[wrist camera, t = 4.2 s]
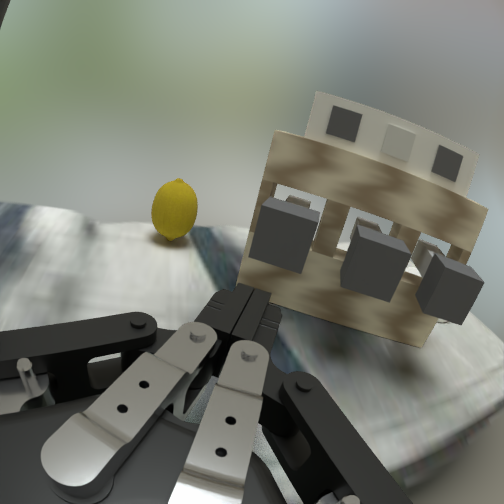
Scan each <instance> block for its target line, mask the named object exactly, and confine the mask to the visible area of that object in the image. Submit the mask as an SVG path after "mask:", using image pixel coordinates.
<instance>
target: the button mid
mask: <svg viewBox="0 0 504 504" xmlns="http://www.w3.org/2000/svg"><path fill="white" fill-rule="evenodd" d="M350 239H351V242H350V245H349V248H348V251H347V253H346V256H345V259H344V261H343V264H342V266H341V269H340V286H341V287H342V288H345V289H348V290H351V291H355V292H358V293H361V294H364V295H367V296H370V297H373V298H377V299H380V300H383V301H386V302H389V303H390V301H391V299H392V297H393V295H394V293H395V291H396V288H397V286H398V284H399V282H400V280H401V278H402V275H403V273H404V271H405V269H406V266H407V264H408V262H409V260H410V257H411V255H412V254H411V253H410V251H409V249H408V248H407V246H406V244H405V243H404V241H403V240H400V239H397V238H394V237H391V236H389V235H386V234H383V233H382V232H381V230H380V228H379V226H378V224H377V223H374V222H371V221H368V220H365V219H363V218H360V217H357V219H356V222H355V224H354V227H353V230H352V233H351V236H350Z"/></svg>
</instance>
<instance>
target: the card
mask: <svg viewBox="0 0 504 504" xmlns="http://www.w3.org/2000/svg"><path fill="white" fill-rule="evenodd" d="M304 138H307V139H311V140H314V141H318V142H321V143H324V144H328V145H331V146H334V147H337V148H340V149H343V150H346V151H350V152H353V153H356V154H358V155H361V156H364V157H367V158H370V159H373V160H376V161H378V162H381V163H384V164H387V165H389V166H392V167H395V168H397V169H400V170H402V171H405V172H407V173H410V174H412V175H415V176H417V177H420V178H422V179H425V180H427V181H429V182H432V183H434V184H436V185H439V186H441V187H443V188H445V189H448V190H450V191H452V192H454V193H457V194H459V195H461V196H463V197H465V198H466V196H467V193H468V190H469V187H470V184H471V181H472V178H473V174H474V171H475V168H476V165H477V161H478V158H479V154H478V153H476V152H474V151H472V150H470V149H468V148H467V147H465V146H462V145H461V144H459V143H456V142H454V141H452V140H450V139H448V138H446V137H444V136H442V135H440V134H437V133H435V132H433V131H430V130H428V129H426V128H424V127H421V126H419V125H417V124H414V123H412V122H409V121H407V120H404V119H402V118H399V117H397V116H394V115H391V114H389V113H386V112H383V111H380V110H377V109H375V108H372V107H369V106H366V105H363V104H360V103H357V102H354V101H351V100H348V99H344V98H341V97H338V96H334V95H331V94H327V93H324V92H320V91H316V94H315V98H314V102H313V106H312V110H311V113H310V117H309V121H308V125H307V128H306V133H305V136H304Z"/></svg>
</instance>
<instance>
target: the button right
mask: <svg viewBox="0 0 504 504" xmlns="http://www.w3.org/2000/svg"><path fill="white" fill-rule="evenodd" d="M411 259H412V261H413V262H414V264H415V266H416V268H417V269H418V271H419V273H420V275H421V277H422V278H423V279H422V281H421V283H420V286H419V288H418V290H417V292H416V294H415V296H416V298H417V301H418V303H419V305H420V308H421V310H422V312H423V313H424V314H427V315H430V316H433V317H436V318H440V319H443V320H446V321H449V322H452V323H456V324H459V325H462V323H463V322H464V320H465V318H466V316H467V315H468V313H469V311H470V309H471V307H472V306H473V304H474V302H475V300H476V298H477V296H478V294H479V292H480V290H481V288H482V286H483V284H484V281H483V280H482V279H481V278H480V277H479V276H478V274H477V273H476V272H475V271H474V270H473V269H472V268H471V267H470V266H467V265H465V264H462V263H460V262H457V261H455V260H452V259H450V258H447V257H445V255H444V254H443V253H442V252H441V250H440V249H439V248H438V247H437V246H436V245H434V244H431V243H428V242H425V241H423V240H421V239H419V240H418V243H417V245H416V247H415V250H414V252H413V255H412V257H411Z"/></svg>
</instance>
